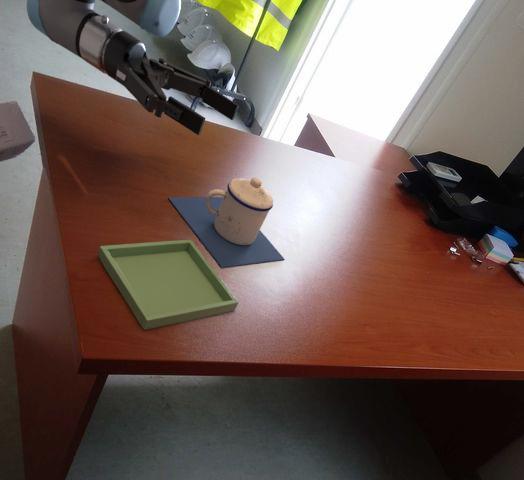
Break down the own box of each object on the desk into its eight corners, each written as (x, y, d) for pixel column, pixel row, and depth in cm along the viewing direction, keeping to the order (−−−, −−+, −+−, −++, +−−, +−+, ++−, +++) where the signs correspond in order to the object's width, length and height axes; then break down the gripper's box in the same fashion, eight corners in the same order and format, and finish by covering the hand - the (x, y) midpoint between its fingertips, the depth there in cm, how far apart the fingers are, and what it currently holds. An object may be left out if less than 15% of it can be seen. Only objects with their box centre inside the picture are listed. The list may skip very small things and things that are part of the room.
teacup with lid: (253, 226, 94) (277, 176, 87) (256, 252, 88) (282, 201, 81) (198, 207, 90) (217, 153, 83) (197, 233, 84) (218, 178, 77)
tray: (97, 256, 70) (99, 245, 69) (187, 248, 81) (191, 239, 79) (144, 330, 64) (147, 320, 63) (234, 310, 75) (239, 302, 74)
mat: (167, 198, 88) (168, 197, 88) (231, 198, 99) (231, 197, 99) (221, 268, 81) (221, 267, 81) (284, 260, 91) (284, 259, 91)
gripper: (69, 30, 66) (192, 109, 66) (158, 27, 85) (254, 88, 85) (63, 83, 71) (177, 156, 71) (149, 69, 90) (239, 126, 90)
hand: (220, 119), depth 78 cm, fingers open, 13 cm apart
